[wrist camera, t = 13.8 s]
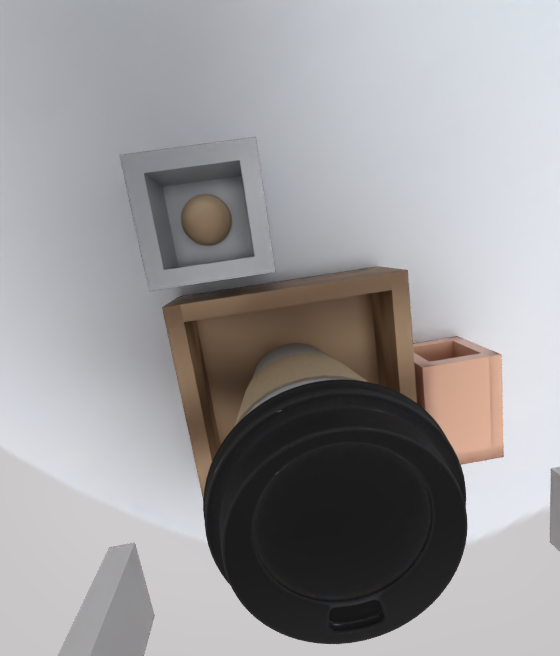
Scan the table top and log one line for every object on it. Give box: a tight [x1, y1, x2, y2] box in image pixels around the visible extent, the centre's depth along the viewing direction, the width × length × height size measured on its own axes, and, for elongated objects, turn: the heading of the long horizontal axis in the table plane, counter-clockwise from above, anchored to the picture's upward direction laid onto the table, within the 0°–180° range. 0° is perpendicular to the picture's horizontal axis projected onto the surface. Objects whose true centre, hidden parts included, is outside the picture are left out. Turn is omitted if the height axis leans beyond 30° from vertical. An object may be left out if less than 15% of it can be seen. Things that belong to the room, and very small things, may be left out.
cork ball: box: [181, 194, 232, 246], centre depth 22 cm, size 3×3×3 cm
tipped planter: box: [413, 336, 504, 465], centre depth 26 cm, size 7×5×5 cm
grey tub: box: [120, 137, 275, 291], centre depth 22 cm, size 7×7×5 cm
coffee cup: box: [203, 343, 467, 644], centre depth 19 cm, size 9×9×15 cm
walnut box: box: [162, 267, 417, 498], centre depth 25 cm, size 14×14×5 cm
